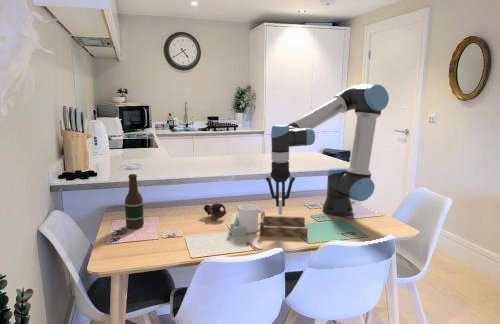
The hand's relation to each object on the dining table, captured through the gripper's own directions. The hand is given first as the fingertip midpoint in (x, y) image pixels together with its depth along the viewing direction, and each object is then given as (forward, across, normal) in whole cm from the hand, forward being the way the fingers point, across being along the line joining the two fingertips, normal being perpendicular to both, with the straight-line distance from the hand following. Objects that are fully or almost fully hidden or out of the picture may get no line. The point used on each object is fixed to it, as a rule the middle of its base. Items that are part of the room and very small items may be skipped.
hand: (280, 213), depth 158 cm
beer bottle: (+6, +66, +1) cm, 66 cm away
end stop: (+7, +18, 0) cm, 20 cm away
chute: (+8, -1, 0) cm, 8 cm away
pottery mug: (+7, +32, -14) cm, 35 cm away
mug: (+8, +13, +1) cm, 15 cm away
